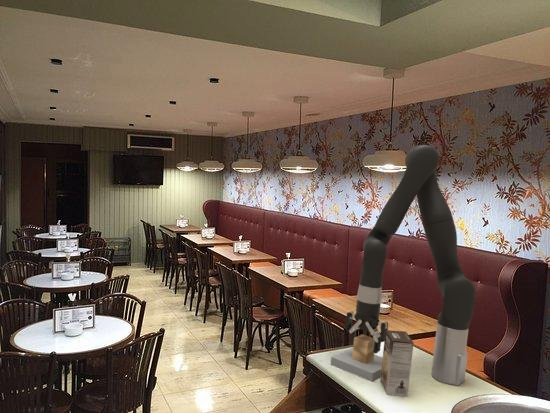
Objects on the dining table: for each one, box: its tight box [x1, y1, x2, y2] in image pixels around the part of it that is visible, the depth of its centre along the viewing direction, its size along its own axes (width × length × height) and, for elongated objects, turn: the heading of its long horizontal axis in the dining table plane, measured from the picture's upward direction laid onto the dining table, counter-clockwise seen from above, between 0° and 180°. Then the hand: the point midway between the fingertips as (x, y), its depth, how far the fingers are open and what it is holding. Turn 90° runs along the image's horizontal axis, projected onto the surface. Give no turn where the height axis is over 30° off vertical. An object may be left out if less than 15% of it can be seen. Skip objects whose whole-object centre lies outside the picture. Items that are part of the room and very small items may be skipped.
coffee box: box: [379, 329, 415, 397], centre depth 130 cm, size 9×6×16 cm
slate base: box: [330, 347, 383, 382], centre depth 145 cm, size 15×14×2 cm
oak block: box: [352, 334, 375, 364], centre depth 144 cm, size 5×5×7 cm
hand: (363, 348), depth 144 cm, fingers open, 8 cm apart
